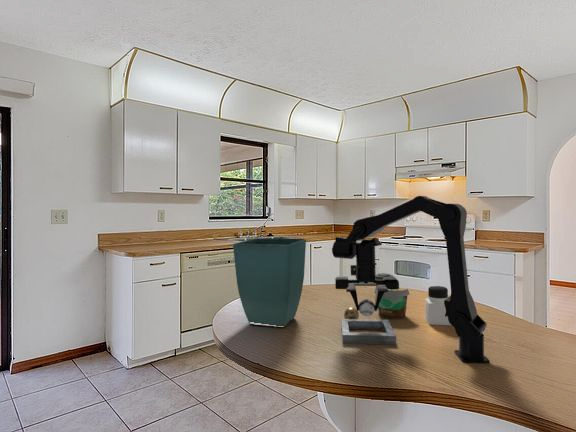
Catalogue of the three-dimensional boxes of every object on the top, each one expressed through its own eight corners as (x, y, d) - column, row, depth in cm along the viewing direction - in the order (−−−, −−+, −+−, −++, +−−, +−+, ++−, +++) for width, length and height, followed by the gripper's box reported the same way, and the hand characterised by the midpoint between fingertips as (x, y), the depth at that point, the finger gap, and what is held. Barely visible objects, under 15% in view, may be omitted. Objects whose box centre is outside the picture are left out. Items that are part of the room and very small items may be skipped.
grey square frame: (396, 344, 102) (396, 336, 102) (342, 343, 104) (342, 334, 104) (388, 327, 117) (387, 319, 117) (341, 326, 119) (341, 318, 119)
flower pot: (291, 334, 112) (289, 244, 112) (233, 328, 119) (231, 243, 118) (308, 315, 131) (306, 238, 131) (258, 311, 138) (256, 238, 137)
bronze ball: (359, 324, 120) (359, 309, 120) (344, 324, 121) (344, 309, 120) (358, 320, 125) (358, 305, 125) (343, 319, 125) (343, 305, 125)
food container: (370, 317, 128) (370, 289, 128) (375, 312, 134) (374, 285, 133) (406, 321, 122) (406, 292, 122) (409, 316, 128) (409, 288, 128)
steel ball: (376, 318, 107) (375, 301, 107) (359, 317, 108) (358, 301, 108) (374, 313, 112) (373, 297, 112) (357, 313, 113) (357, 297, 113)
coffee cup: (371, 295, 159) (370, 273, 159) (387, 293, 162) (386, 271, 161) (381, 299, 151) (380, 276, 151) (397, 298, 154) (397, 274, 154)
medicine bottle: (452, 326, 117) (451, 289, 117) (429, 325, 118) (428, 288, 118) (447, 319, 124) (446, 284, 124) (425, 318, 125) (424, 284, 125)
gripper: (392, 256, 117) (393, 304, 117) (334, 256, 119) (335, 303, 119) (399, 261, 106) (399, 314, 106) (334, 261, 108) (336, 313, 108)
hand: (366, 310), depth 110 cm, fingers closed on steel ball, 5 cm apart
